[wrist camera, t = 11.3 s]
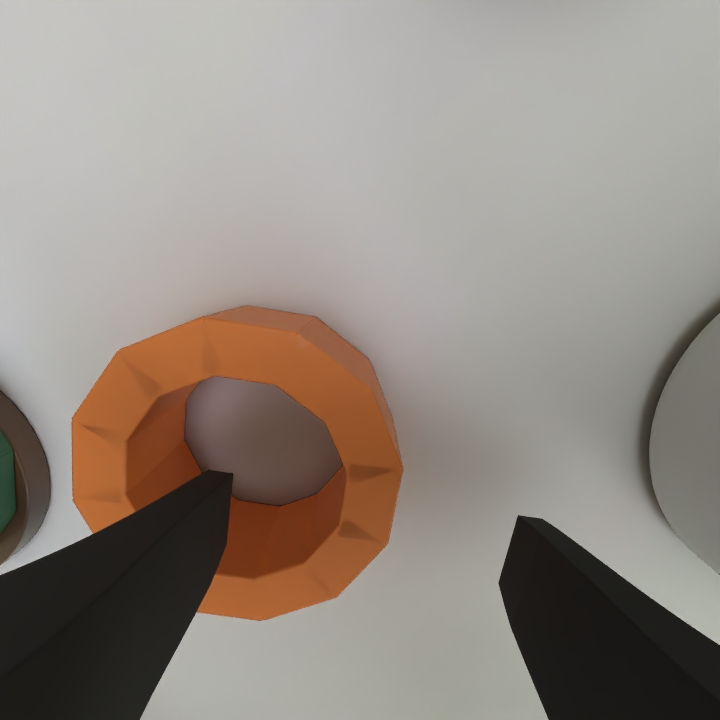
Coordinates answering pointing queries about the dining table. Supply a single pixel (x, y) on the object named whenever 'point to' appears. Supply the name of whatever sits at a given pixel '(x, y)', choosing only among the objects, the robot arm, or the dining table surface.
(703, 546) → the cylinder vase
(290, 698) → the dining table surface
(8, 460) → the green ring
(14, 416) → the dark brown cylinder peg
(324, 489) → the orange ring
